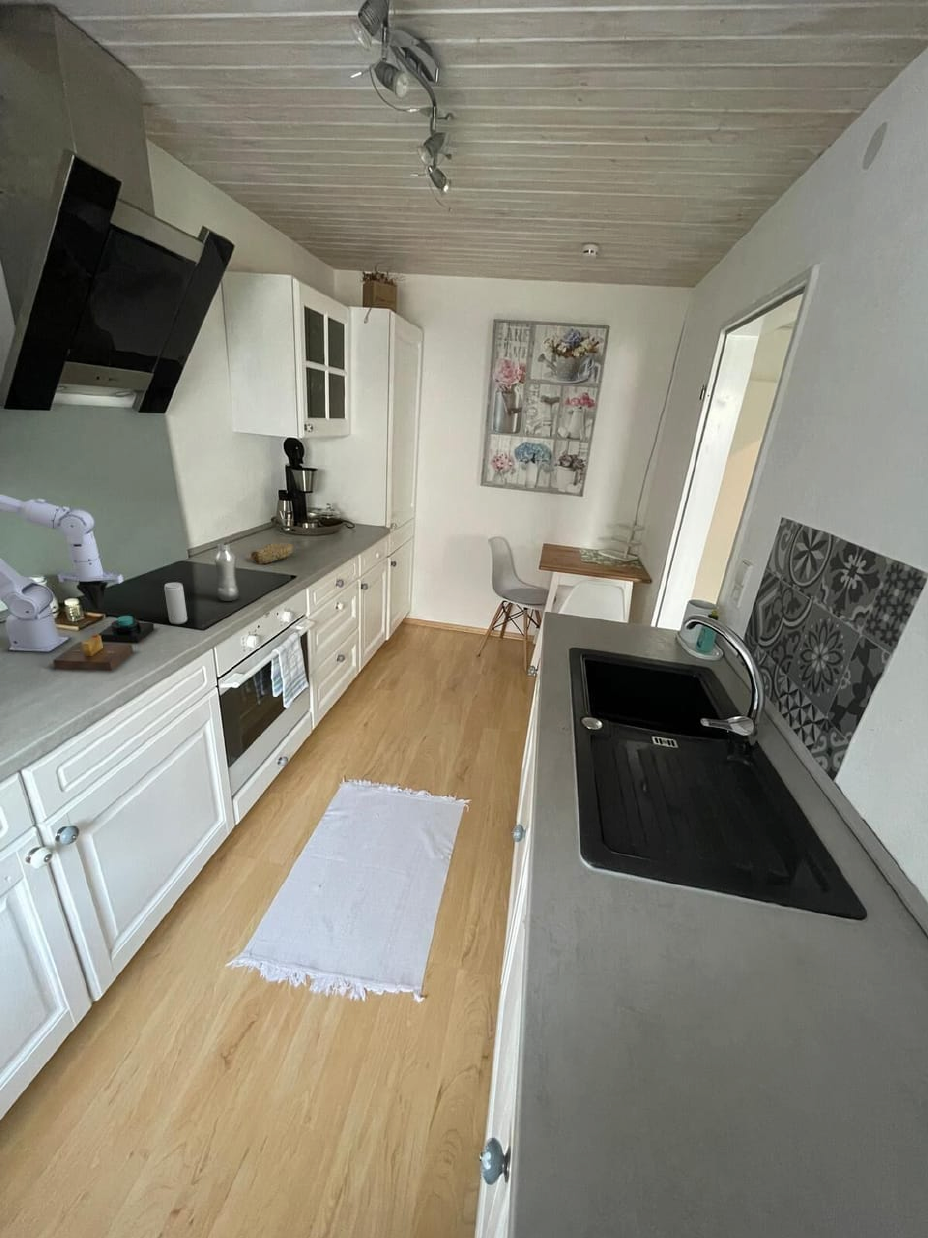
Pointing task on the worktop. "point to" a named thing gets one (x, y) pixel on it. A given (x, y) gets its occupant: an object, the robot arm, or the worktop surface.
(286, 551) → the tan oblong lump
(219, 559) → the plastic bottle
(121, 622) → the lock button
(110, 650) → the plate
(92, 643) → the thumbturn
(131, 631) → the lock button box
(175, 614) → the beverage can
